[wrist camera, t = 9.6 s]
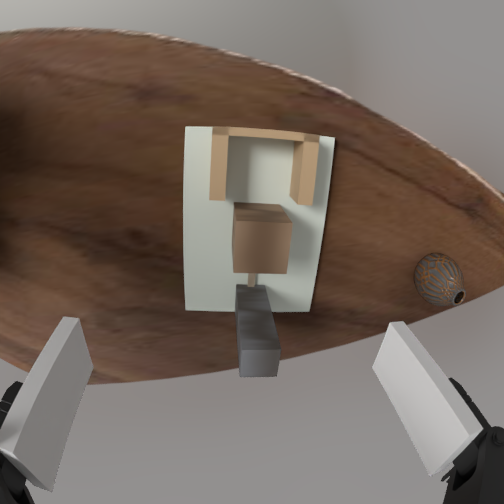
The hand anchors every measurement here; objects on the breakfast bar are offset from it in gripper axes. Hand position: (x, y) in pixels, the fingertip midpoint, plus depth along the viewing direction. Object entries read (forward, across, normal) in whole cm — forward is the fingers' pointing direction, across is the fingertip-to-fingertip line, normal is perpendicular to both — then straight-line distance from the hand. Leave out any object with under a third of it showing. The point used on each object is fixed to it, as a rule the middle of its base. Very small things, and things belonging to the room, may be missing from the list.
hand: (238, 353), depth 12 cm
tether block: (+23, +3, -6) cm, 24 cm away
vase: (+24, +30, -7) cm, 39 cm away
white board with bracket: (+24, +3, -2) cm, 24 cm away
